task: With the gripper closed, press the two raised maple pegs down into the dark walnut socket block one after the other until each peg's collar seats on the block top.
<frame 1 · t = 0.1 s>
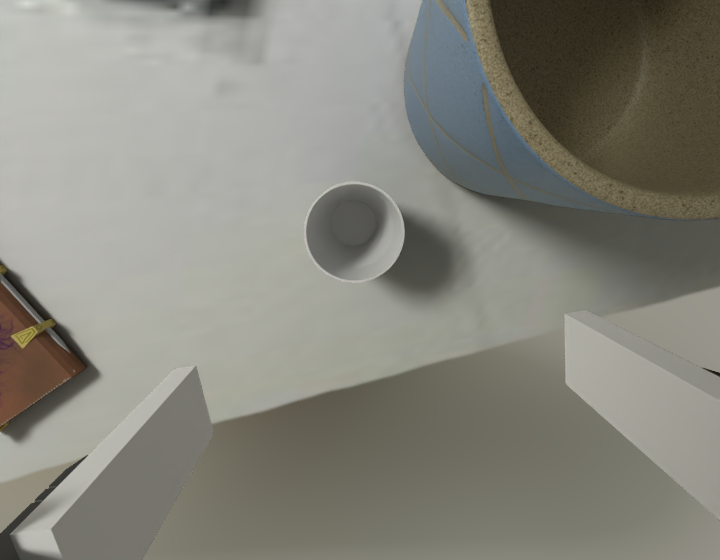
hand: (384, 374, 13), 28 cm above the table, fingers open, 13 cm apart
cup: (353, 223, 40), on the table
planter: (505, 88, 38), on the table
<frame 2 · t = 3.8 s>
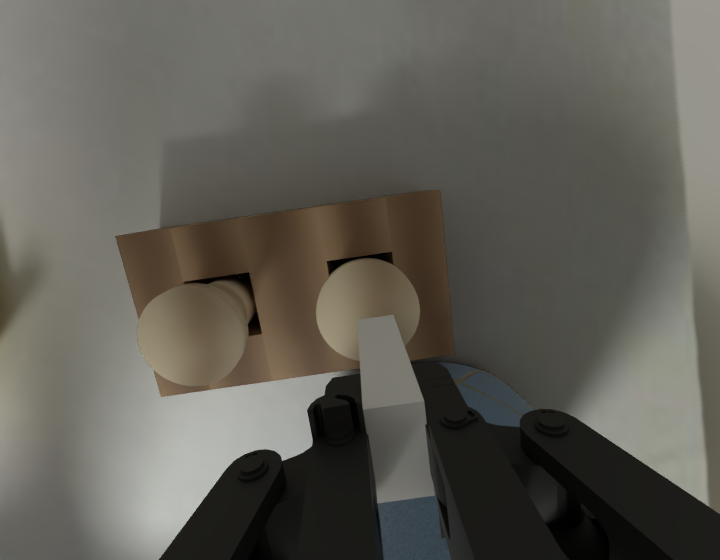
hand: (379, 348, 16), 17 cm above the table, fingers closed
socket block: (303, 279, 32), on the table
peg b: (365, 296, 24), point 8 cm above the table, slide at 4.5 cm
peg a: (213, 318, 24), point 8 cm above the table, slide at 4.5 cm
planter: (427, 453, 37), on the table
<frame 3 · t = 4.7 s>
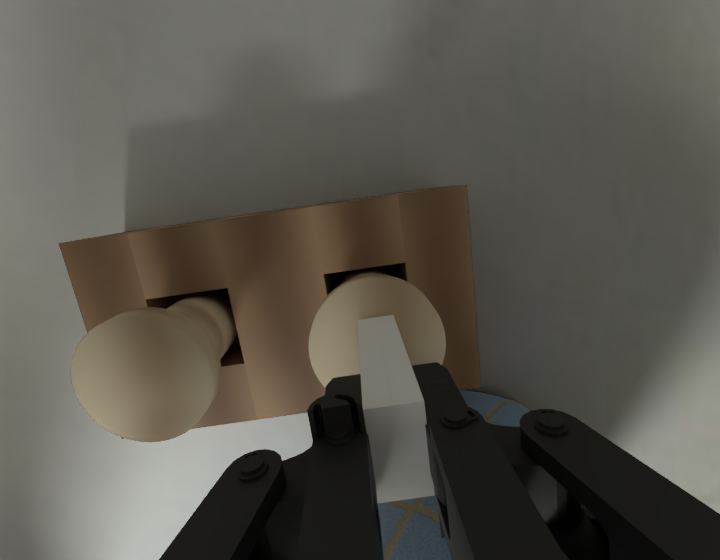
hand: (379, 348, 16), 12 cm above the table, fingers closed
socket block: (297, 292, 27), on the table
peg b: (372, 319, 19), point 8 cm above the table, slide at 4.4 cm, touching gripper
peg a: (179, 347, 19), point 8 cm above the table, slide at 4.5 cm
planter: (442, 492, 32), on the table
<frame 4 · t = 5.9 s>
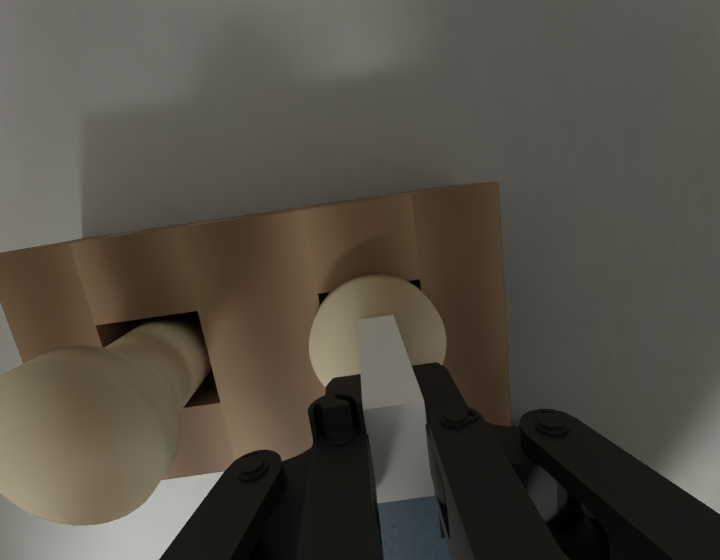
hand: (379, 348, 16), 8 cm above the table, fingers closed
socket block: (288, 310, 23), on the table
peg b: (372, 319, 19), point 4 cm above the table, slide at 0.2 cm, touching gripper
peg a: (134, 388, 15), point 8 cm above the table, slide at 4.5 cm
planter: (457, 536, 28), on the table
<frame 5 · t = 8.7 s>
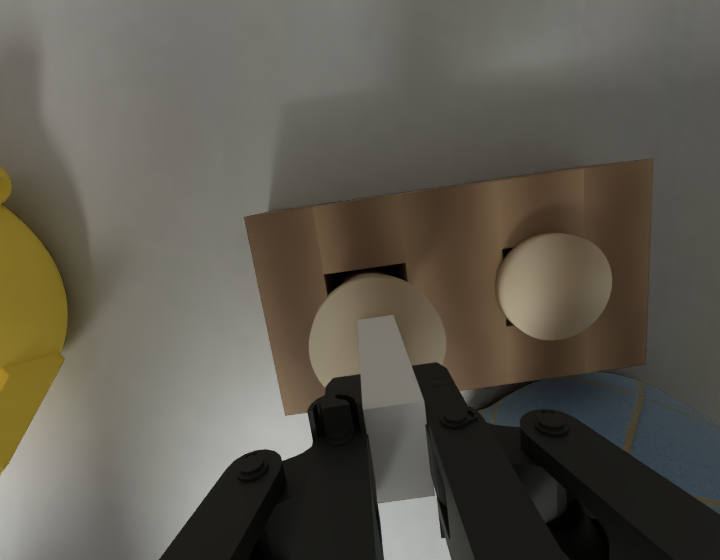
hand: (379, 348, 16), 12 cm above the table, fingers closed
socket block: (433, 273, 27), on the table
peg b: (526, 274, 24), point 4 cm above the table, slide at 0.2 cm
teapot: (0, 293, 27), on the table
peg a: (372, 319, 19), point 8 cm above the table, slide at 4.4 cm, touching gripper
planter: (560, 475, 32), on the table
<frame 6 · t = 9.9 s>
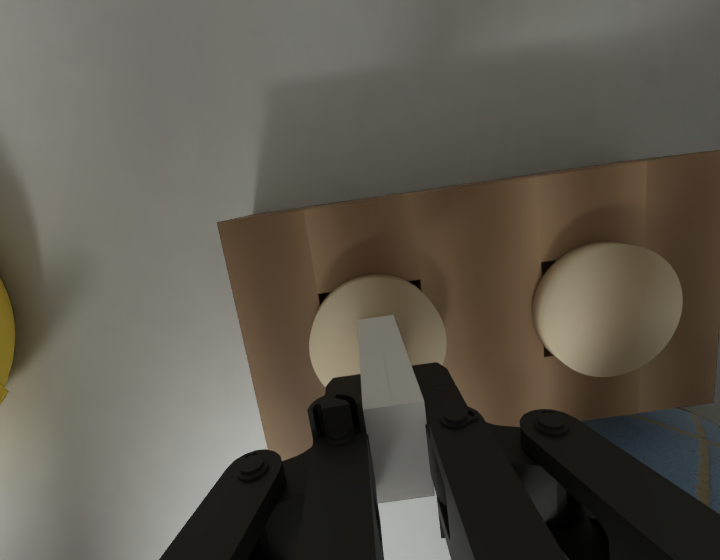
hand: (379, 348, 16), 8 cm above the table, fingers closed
socket block: (449, 287, 23), on the table
peg b: (565, 291, 19), point 4 cm above the table, slide at 0.2 cm
peg a: (372, 319, 19), point 4 cm above the table, slide at 0.2 cm, touching gripper
planter: (592, 518, 28), on the table
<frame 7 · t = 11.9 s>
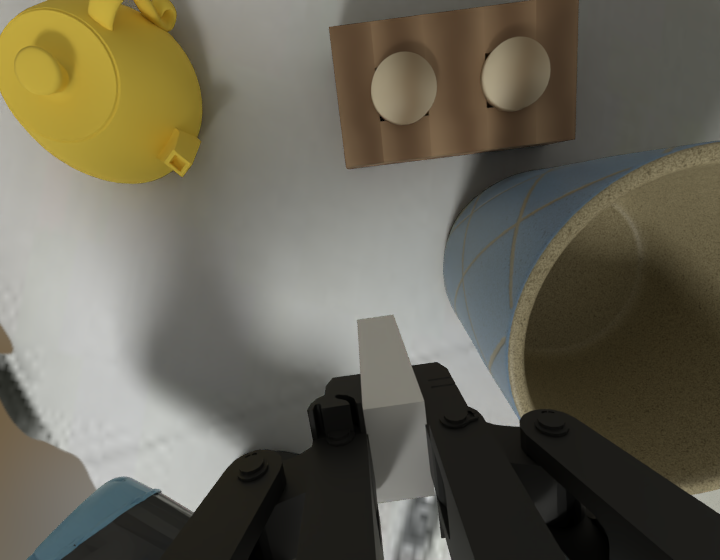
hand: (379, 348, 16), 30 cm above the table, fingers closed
socket block: (442, 98, 40), on the table
peg b: (502, 84, 37), point 4 cm above the table, slide at 0.2 cm
teapot: (153, 105, 41), on the table
peg a: (399, 97, 37), point 4 cm above the table, slide at 0.2 cm
planter: (526, 261, 45), on the table
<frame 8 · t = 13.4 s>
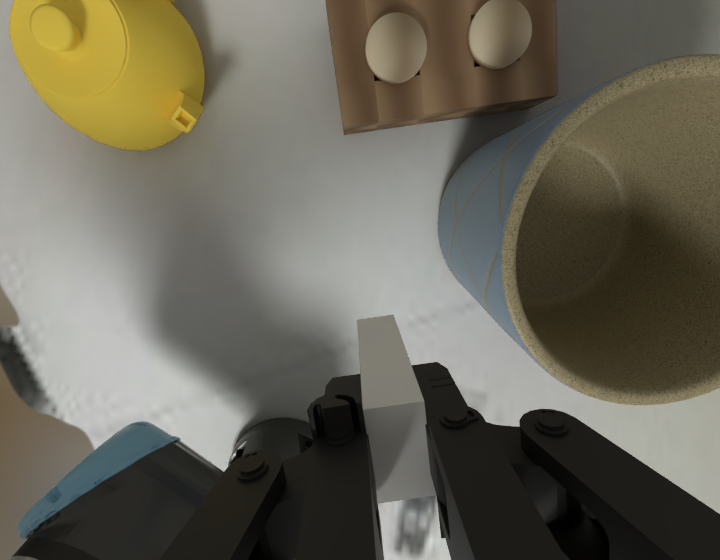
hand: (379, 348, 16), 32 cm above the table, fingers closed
socket block: (432, 65, 43), on the table
peg b: (487, 46, 39), point 4 cm above the table, slide at 0.2 cm
teapot: (157, 76, 43), on the table
peg a: (392, 60, 39), point 4 cm above the table, slide at 0.2 cm
planter: (516, 221, 47), on the table
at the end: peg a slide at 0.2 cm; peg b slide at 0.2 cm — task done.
